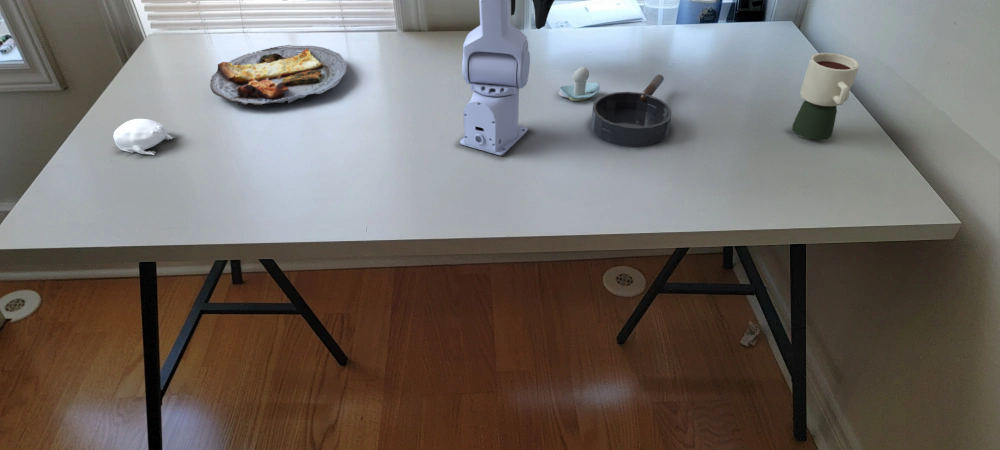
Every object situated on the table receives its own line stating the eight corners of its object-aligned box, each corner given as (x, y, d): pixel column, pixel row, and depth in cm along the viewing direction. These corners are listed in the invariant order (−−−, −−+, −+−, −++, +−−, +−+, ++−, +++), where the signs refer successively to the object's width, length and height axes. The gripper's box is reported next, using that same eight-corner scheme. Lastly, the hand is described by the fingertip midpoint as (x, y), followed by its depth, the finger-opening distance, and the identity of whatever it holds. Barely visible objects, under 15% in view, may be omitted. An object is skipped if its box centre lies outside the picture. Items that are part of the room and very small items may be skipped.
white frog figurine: (179, 136, 108) (172, 116, 106) (154, 157, 103) (146, 136, 101) (137, 131, 110) (129, 111, 107) (110, 151, 104) (101, 131, 102)
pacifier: (552, 92, 122) (564, 106, 117) (554, 60, 118) (566, 73, 114) (588, 87, 124) (602, 100, 119) (591, 56, 120) (605, 68, 115)
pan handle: (646, 104, 114) (647, 96, 113) (637, 102, 114) (638, 94, 113) (664, 82, 121) (665, 74, 120) (655, 80, 121) (657, 72, 120)
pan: (654, 154, 104) (657, 135, 102) (579, 135, 109) (580, 116, 107) (677, 120, 113) (681, 102, 111) (607, 103, 118) (609, 85, 116)
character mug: (846, 150, 105) (875, 75, 97) (803, 151, 105) (828, 76, 97) (816, 118, 114) (840, 47, 106) (777, 119, 114) (797, 48, 106)
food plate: (218, 122, 112) (213, 103, 110) (207, 70, 129) (202, 53, 127) (360, 95, 120) (358, 77, 118) (332, 49, 137) (330, 33, 135)
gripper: (572, -49, 113) (568, 24, 123) (509, -67, 121) (509, 3, 130) (547, -37, 110) (544, 38, 119) (483, -57, 117) (486, 15, 126)
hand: (524, 21), depth 124 cm, fingers open, 7 cm apart
